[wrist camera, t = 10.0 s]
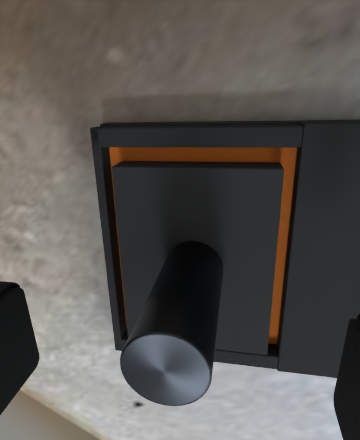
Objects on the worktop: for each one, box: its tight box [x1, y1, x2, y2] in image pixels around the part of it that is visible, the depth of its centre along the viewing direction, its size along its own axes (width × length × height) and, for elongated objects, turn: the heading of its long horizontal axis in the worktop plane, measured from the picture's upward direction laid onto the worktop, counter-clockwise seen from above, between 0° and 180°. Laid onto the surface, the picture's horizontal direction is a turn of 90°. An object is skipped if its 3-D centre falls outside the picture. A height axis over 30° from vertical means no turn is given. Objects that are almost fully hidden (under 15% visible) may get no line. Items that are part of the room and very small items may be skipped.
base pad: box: [90, 120, 360, 378], centre depth 15 cm, size 12×16×2 cm
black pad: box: [112, 161, 284, 406], centre depth 12 cm, size 9×7×7 cm
